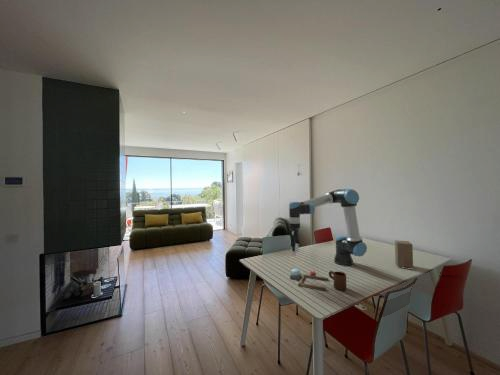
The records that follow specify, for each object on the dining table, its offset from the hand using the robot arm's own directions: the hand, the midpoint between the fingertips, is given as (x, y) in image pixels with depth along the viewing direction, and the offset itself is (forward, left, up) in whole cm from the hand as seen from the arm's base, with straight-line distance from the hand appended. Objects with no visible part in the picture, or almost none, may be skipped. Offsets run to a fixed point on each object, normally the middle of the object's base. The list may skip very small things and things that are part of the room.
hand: (295, 253), depth 149 cm
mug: (+4, +28, -17) cm, 33 cm away
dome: (0, 0, -15) cm, 15 cm away
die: (-7, +11, -17) cm, 22 cm away
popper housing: (0, 0, -17) cm, 17 cm away
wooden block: (-56, +76, -17) cm, 96 cm away
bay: (+4, +14, -17) cm, 23 cm away
